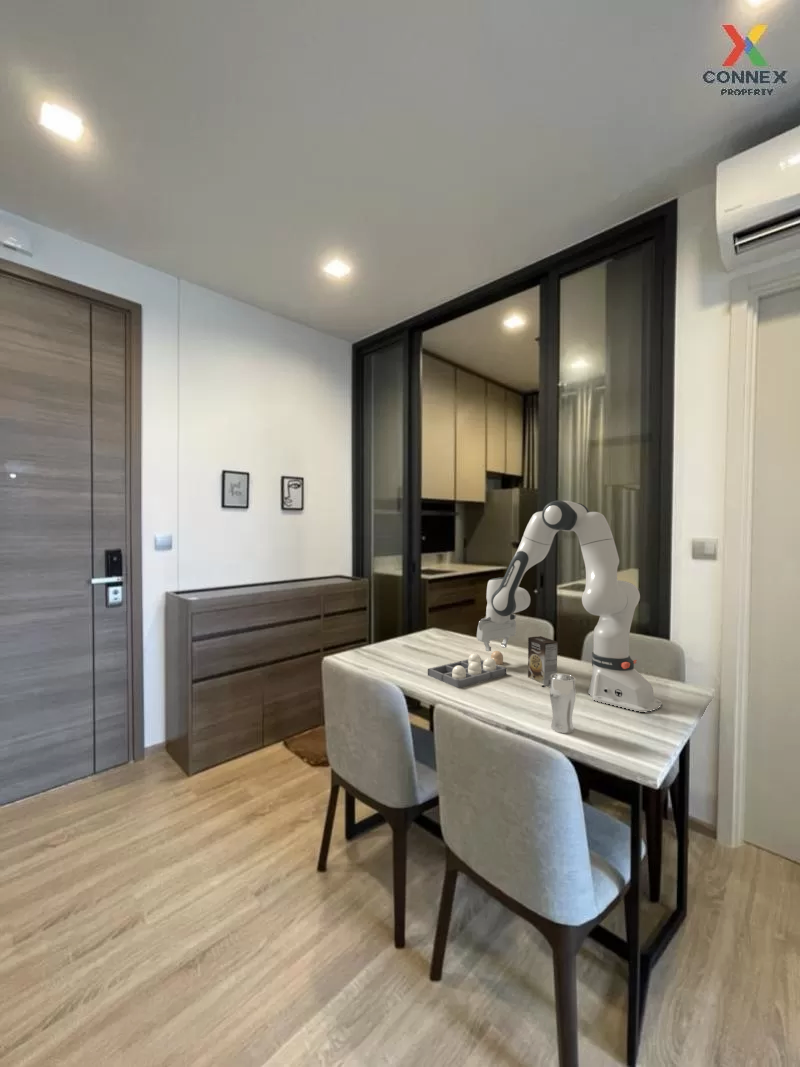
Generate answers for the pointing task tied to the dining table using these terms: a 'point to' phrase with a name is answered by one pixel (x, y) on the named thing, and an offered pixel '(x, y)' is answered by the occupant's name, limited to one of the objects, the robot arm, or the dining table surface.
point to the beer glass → (562, 701)
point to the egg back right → (474, 658)
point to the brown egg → (497, 657)
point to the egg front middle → (474, 668)
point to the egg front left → (459, 672)
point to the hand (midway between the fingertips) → (496, 649)
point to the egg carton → (445, 674)
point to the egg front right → (489, 664)
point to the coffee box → (542, 659)
